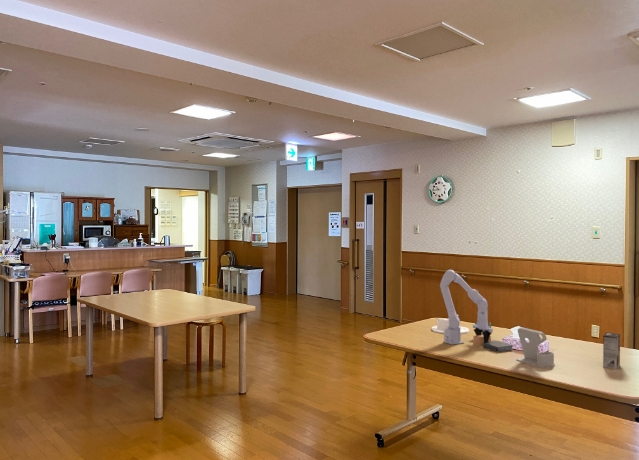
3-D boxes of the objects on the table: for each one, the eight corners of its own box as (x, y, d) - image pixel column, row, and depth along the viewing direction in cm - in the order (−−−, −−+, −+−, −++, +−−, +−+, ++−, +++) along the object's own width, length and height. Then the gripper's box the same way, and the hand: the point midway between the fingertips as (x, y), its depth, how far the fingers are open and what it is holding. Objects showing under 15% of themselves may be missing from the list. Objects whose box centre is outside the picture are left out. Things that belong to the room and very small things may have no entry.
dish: (473, 329, 342) (473, 312, 341) (463, 336, 320) (463, 318, 320) (438, 325, 355) (438, 309, 354) (426, 332, 333) (426, 315, 333)
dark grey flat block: (498, 352, 280) (498, 347, 280) (482, 347, 291) (482, 342, 291) (512, 350, 285) (512, 345, 285) (497, 345, 296) (497, 340, 296)
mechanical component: (492, 339, 312) (492, 323, 312) (475, 339, 312) (475, 323, 312) (490, 337, 315) (490, 322, 315) (474, 337, 315) (474, 322, 315)
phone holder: (556, 365, 254) (556, 330, 254) (543, 368, 250) (543, 332, 249) (528, 357, 270) (528, 324, 269) (515, 360, 265) (515, 326, 265)
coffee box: (606, 363, 258) (606, 332, 258) (620, 365, 254) (620, 333, 254) (602, 367, 251) (602, 335, 251) (617, 369, 247) (617, 337, 247)
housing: (479, 346, 294) (479, 337, 294) (473, 344, 299) (473, 336, 299) (492, 344, 299) (492, 335, 299) (486, 342, 303) (486, 334, 303)
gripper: (496, 320, 294) (496, 343, 294) (479, 316, 307) (479, 338, 307) (487, 322, 291) (487, 345, 291) (470, 317, 304) (470, 339, 304)
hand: (482, 341), depth 299 cm, fingers closed on housing, 5 cm apart
